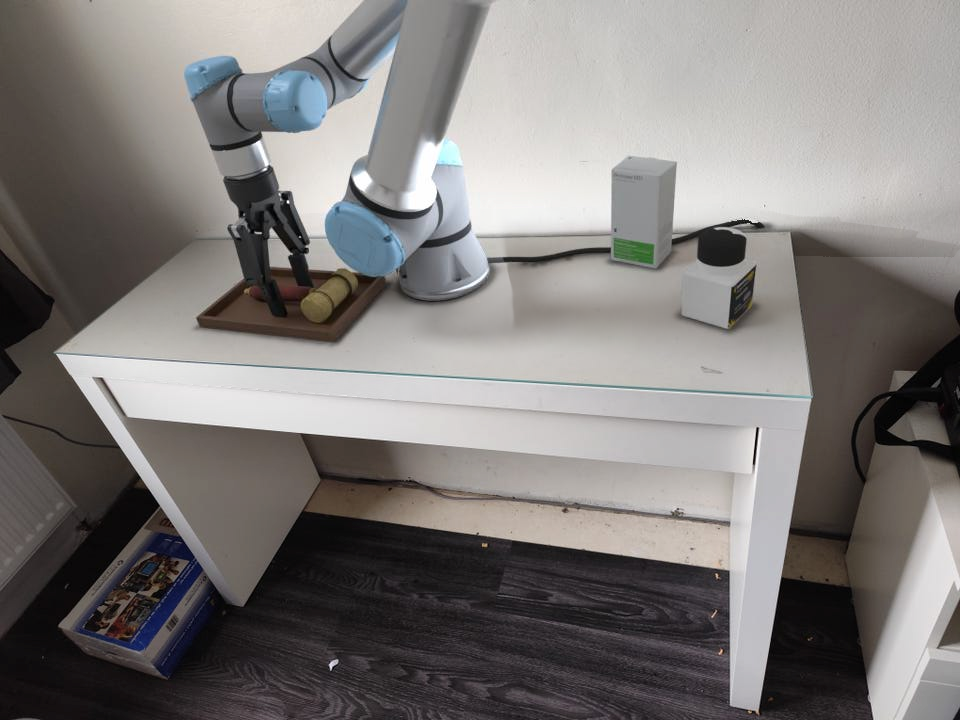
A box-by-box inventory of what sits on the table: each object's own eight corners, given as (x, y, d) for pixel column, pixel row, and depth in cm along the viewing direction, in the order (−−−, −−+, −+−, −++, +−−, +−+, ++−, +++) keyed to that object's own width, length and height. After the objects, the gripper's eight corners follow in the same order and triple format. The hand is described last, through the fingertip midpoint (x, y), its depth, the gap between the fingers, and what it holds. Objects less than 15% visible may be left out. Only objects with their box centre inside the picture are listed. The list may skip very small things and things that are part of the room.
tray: (386, 284, 115) (384, 274, 114) (333, 342, 102) (330, 332, 101) (262, 274, 125) (259, 265, 123) (199, 327, 112) (195, 317, 111)
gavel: (220, 295, 112) (258, 266, 119) (231, 318, 114) (268, 288, 121) (319, 299, 103) (353, 267, 110) (328, 324, 105) (362, 292, 112)
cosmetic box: (610, 261, 110) (607, 169, 101) (627, 243, 114) (626, 154, 105) (658, 269, 106) (660, 175, 97) (674, 251, 110) (677, 158, 101)
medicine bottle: (728, 330, 90) (736, 251, 83) (680, 316, 95) (683, 239, 88) (752, 306, 94) (761, 227, 87) (705, 293, 98) (710, 217, 91)
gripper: (266, 146, 108) (308, 271, 122) (181, 198, 94) (239, 333, 107) (305, 146, 106) (343, 273, 119) (223, 199, 91) (277, 337, 104)
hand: (293, 301), depth 113 cm, fingers closed on gavel, 7 cm apart
